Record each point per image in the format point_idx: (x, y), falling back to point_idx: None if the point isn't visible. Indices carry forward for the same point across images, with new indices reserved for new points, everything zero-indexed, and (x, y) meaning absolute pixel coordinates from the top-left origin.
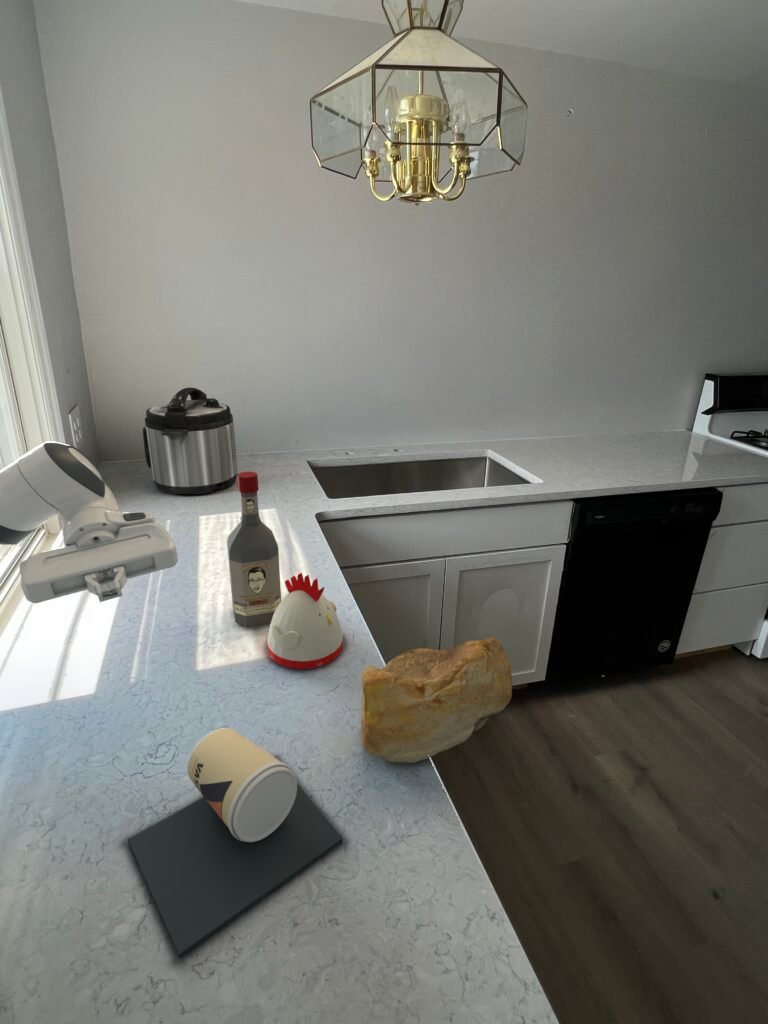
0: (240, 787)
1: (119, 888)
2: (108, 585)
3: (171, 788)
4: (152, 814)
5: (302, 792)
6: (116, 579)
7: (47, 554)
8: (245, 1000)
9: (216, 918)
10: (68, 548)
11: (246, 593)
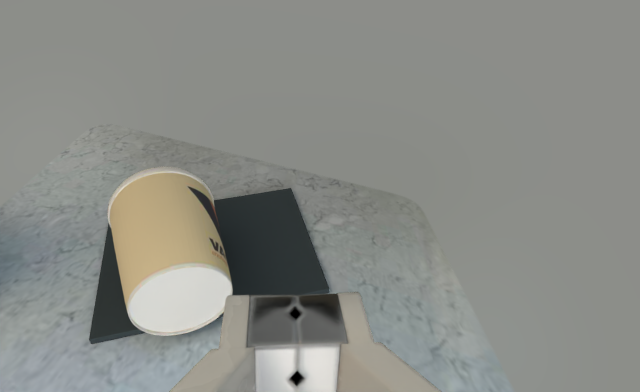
0: (184, 173)
1: (338, 250)
2: (291, 322)
3: None
4: None
5: (102, 273)
6: (230, 351)
7: None
8: (253, 164)
9: (255, 198)
10: None
11: None
